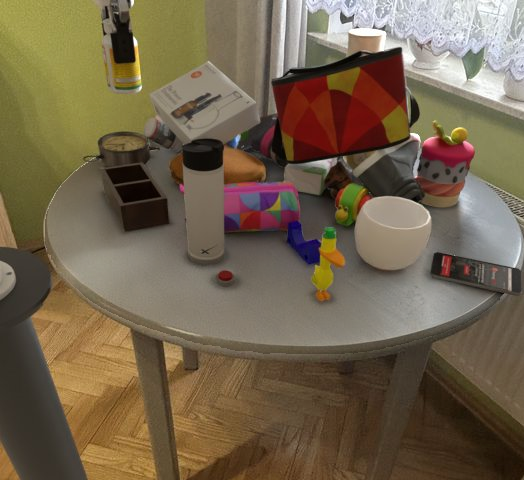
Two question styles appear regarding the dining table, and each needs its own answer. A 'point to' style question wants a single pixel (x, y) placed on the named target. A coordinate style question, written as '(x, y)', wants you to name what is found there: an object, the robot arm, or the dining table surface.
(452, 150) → the cake
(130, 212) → the rack
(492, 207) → the dining table surface
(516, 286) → the smartphone
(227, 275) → the push button
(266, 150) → the shoe
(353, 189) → the green red striped toy
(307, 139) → the bag
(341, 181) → the artifact
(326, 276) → the toy figure
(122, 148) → the alarm clock
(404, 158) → the sneaker
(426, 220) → the cup
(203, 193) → the travel mug
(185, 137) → the skincare box
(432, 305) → the dining table surface
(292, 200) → the pencil case
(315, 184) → the ink box
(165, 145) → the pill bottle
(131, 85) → the supplement bottle
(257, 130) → the dark grey pouch
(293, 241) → the cable holder
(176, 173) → the pancake
